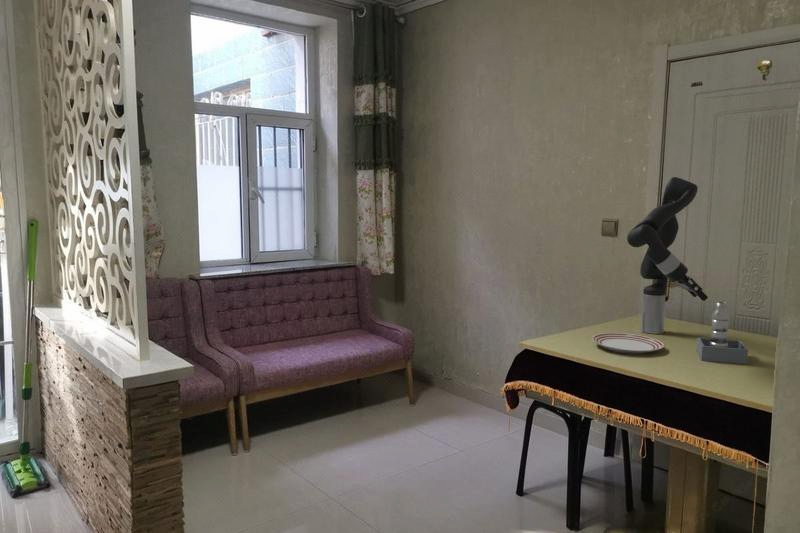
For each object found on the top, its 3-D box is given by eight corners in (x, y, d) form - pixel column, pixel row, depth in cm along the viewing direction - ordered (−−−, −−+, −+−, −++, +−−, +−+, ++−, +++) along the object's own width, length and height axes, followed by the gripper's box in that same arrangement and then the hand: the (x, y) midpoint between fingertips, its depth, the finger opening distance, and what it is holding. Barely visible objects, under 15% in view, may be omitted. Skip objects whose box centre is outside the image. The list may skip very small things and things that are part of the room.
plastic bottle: (726, 352, 232) (729, 301, 229) (729, 357, 225) (732, 304, 223) (707, 351, 234) (710, 300, 231) (710, 355, 227) (713, 303, 225)
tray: (701, 360, 224) (702, 346, 224) (696, 350, 238) (697, 337, 238) (747, 364, 219) (748, 349, 219) (739, 354, 233) (740, 340, 233)
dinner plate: (673, 347, 244) (674, 339, 244) (648, 361, 224) (649, 352, 224) (608, 336, 263) (608, 329, 262) (579, 348, 243) (580, 340, 242)
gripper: (686, 262, 219) (717, 293, 219) (672, 258, 233) (701, 287, 233) (670, 276, 220) (701, 307, 220) (657, 271, 234) (686, 300, 234)
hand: (701, 297), depth 227 cm, fingers open, 8 cm apart
